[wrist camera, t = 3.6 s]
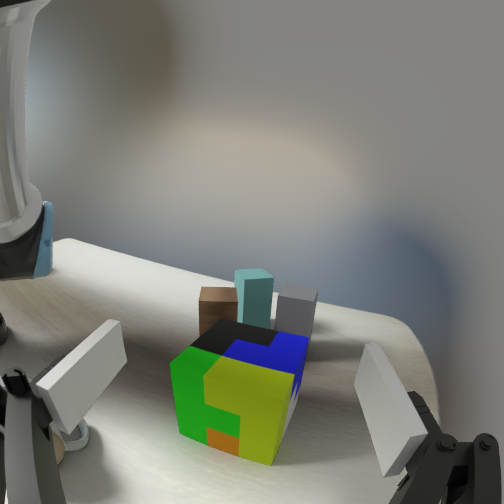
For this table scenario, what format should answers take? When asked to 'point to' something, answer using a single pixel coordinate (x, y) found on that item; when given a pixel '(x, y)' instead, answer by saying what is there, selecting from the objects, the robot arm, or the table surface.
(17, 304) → the table surface
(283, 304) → the grey block
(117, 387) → the table surface
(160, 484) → the table surface
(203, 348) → the puzzle toy
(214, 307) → the walnut block
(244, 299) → the teal block
